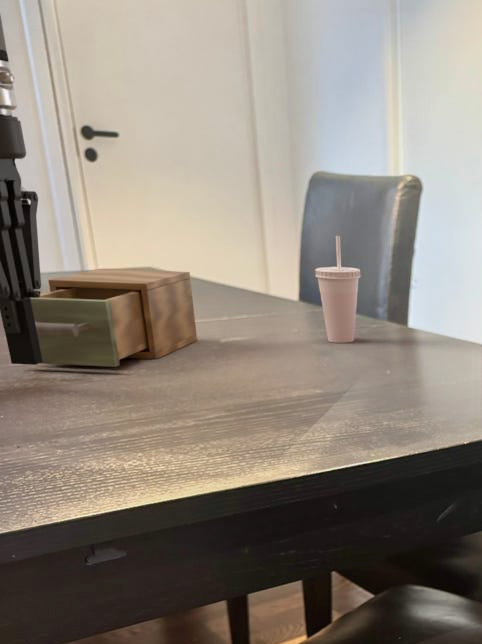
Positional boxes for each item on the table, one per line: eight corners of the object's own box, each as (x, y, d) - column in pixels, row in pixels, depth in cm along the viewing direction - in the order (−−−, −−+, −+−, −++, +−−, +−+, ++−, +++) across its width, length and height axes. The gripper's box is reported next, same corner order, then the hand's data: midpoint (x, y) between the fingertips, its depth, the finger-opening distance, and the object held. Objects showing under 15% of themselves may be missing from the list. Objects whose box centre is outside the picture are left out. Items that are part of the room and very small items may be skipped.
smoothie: (328, 345, 129) (322, 237, 122) (312, 338, 133) (306, 234, 127) (370, 342, 131) (366, 237, 125) (353, 335, 136) (349, 233, 130)
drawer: (99, 374, 103) (87, 306, 100) (2, 369, 104) (-12, 302, 101) (161, 347, 119) (153, 288, 116) (76, 343, 120) (66, 284, 117)
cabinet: (156, 359, 117) (146, 283, 112) (61, 354, 117) (47, 279, 113) (197, 340, 130) (189, 271, 125) (111, 336, 130) (101, 268, 126)
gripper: (-26, 109, 82) (28, 376, 93) (48, 116, 93) (88, 353, 104) (-105, 107, 82) (-42, 373, 93) (-22, 115, 94) (26, 351, 105)
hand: (27, 362), depth 99 cm, fingers closed
